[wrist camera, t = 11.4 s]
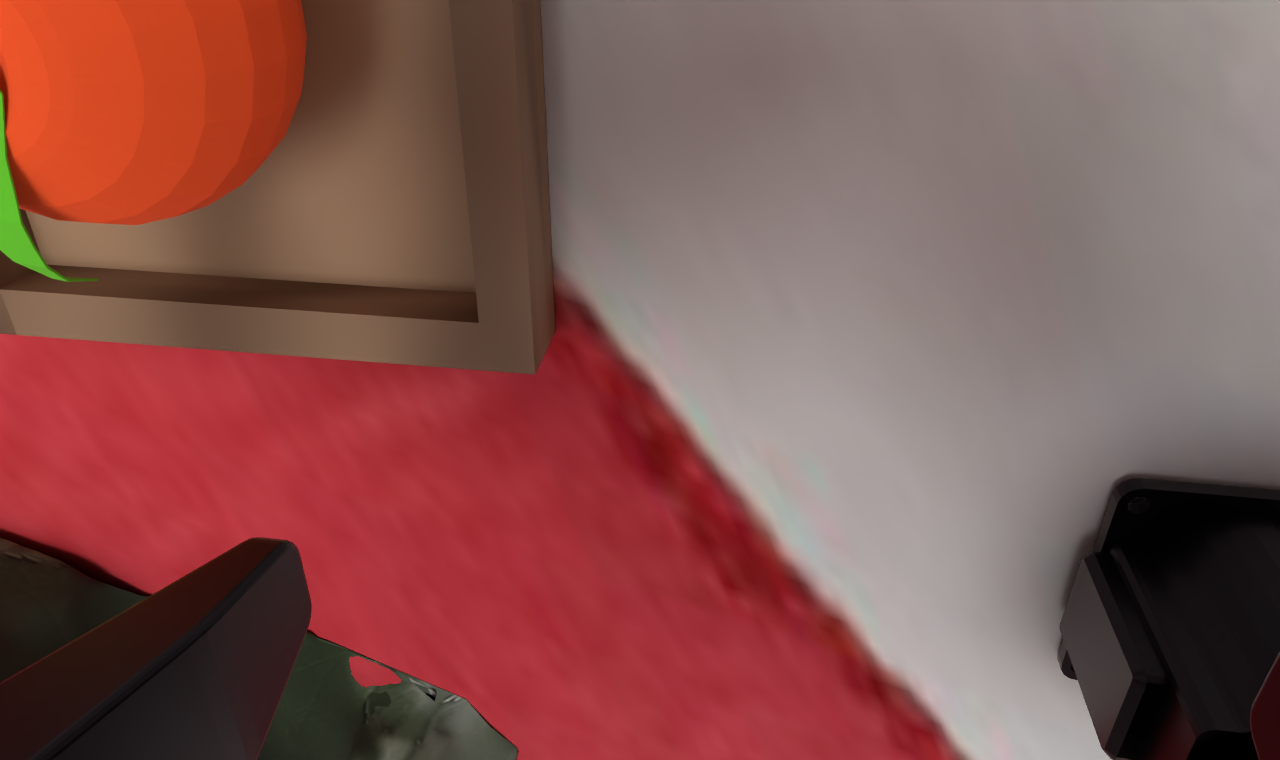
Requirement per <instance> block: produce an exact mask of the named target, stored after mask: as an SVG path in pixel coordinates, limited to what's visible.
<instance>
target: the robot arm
mask: <svg viewBox="0 0 1280 760" xmlns="http://www.w3.org/2000/svg"><path fill="white" fill-rule="evenodd" d="M1136 497H1144V498H1143V500H1142V501H1140V502H1138V503H1133V504H1130V503H1129V502H1130V501H1131V500H1132V499H1134V498H1136ZM310 618H311V599H310V595H309V591H308V586H307V582H306V578H305V574H304V570H303V566H302V561H301V557H300V553H299V551H298V548H297V547H296V546H295V544H294V543H293V542H290V541H288V540H280V539H270V538H260V537H258V538H251V539H248V540H246V541H244V542H242V543H240V544H239V545H237V546H235V547H234V548H232V549H230V550H228V551H227V552H225V553H223V554H222V555H220V556H218V557H216V558H215V559H213V560H211V561H209V562H208V563H206V564H204V565H203V566H201V567H199V568H197V569H196V570H194V571H192V572H191V573H189V574H187V575H185V576H184V577H182V578H180V579H178V580H177V581H175V582H173V583H172V584H170V585H168V586H166V587H165V588H163V589H161V590H160V591H158V592H156V593H154V594H153V595H151V596H149V597H147V598H146V599H144V600H142V601H141V602H139V603H137V604H135V605H134V606H132V607H130V608H129V609H127V610H125V611H123V612H122V613H120V614H118V615H116V616H115V617H113V618H111V619H110V620H108V621H106V622H104V623H103V624H101V625H99V626H98V627H96V628H94V629H92V630H91V631H89V632H87V633H85V634H84V635H82V636H80V637H79V638H77V639H75V640H73V641H72V642H70V643H68V644H67V645H65V646H63V647H61V648H60V649H58V650H56V651H54V652H53V653H51V654H49V655H48V656H46V657H44V658H42V659H41V660H39V661H37V662H36V663H34V664H32V665H30V666H29V667H27V668H25V669H23V670H22V671H20V672H18V673H17V674H15V675H13V676H11V677H10V678H8V679H6V680H4V681H3V682H1V683H0V760H257V758H258V755H259V753H260V751H261V748H262V746H263V743H264V741H265V738H266V735H267V733H268V730H269V728H270V725H271V722H272V720H273V717H274V715H275V712H276V710H277V707H278V704H279V702H280V699H281V697H282V694H283V691H284V689H285V686H286V684H287V681H288V679H289V676H290V673H291V671H292V668H293V666H294V663H295V660H296V658H297V655H298V653H299V650H300V648H301V645H302V642H303V640H304V637H305V635H306V632H307V629H308V626H309V623H310ZM1060 631H1061V634H1062V637H1063V640H1062V643H1061V646H1060V649H1059V652H1058V662H1059V664H1060V667H1061V670H1062V672H1063V674H1064V675H1065V676H1067V677H1069V678H1071V679H1075V680H1078V682H1079V685H1080V688H1081V690H1082V693H1083V696H1084V699H1085V702H1086V705H1087V707H1088V710H1089V713H1090V716H1091V719H1092V722H1093V724H1094V727H1095V730H1096V733H1097V736H1098V739H1099V742H1100V744H1101V747H1102V749H1103V750H1104V752H1105V753H1106V754H1107V755H1108V756H1109V757H1110V758H1111V759H1112V760H1280V490H1269V489H1257V488H1245V487H1233V486H1221V485H1209V484H1197V483H1185V482H1173V481H1161V480H1149V479H1130V480H1127V481H1125V482H1122V483H1121V484H1120V485H1118V486H1117V487H1116V488H1115V490H1114V491H1113V493H1112V495H1111V498H1110V501H1109V504H1108V507H1107V510H1106V513H1105V516H1104V519H1103V522H1102V525H1101V528H1100V531H1099V534H1098V537H1097V539H1096V542H1095V545H1094V548H1093V551H1090V552H1089V553H1088V554H1087V555H1085V556H1084V557H1083V558H1082V560H1081V563H1080V566H1079V569H1078V572H1077V575H1076V578H1075V581H1074V584H1073V587H1072V590H1071V593H1070V596H1069V599H1068V602H1067V605H1066V608H1065V611H1064V614H1063V617H1062V620H1061V623H1060Z"/></svg>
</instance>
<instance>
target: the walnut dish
mask: <svg viewBox="0 0 1280 760" xmlns="http://www.w3.org/2000/svg"><path fill="white" fill-rule="evenodd" d="M301 3H302V9H303V15H304V21H305V27H306V34H307V43H306V55H305V67H304V79H303V85H302V91H301V96H300V99H299V101H298V104H297V107H296V109H295V112H294V115H293V117H292V120H291V123H290V125H289V128H288V131H287V133H286V136H285V137H284V138H283V139H282V141H281V142H280V143H279V144H278V145H277V147H276V148H275V149H274V150H273V152H272V153H271V154H270V155H269V157H268V158H267V159H266V160H265V161H264V163H263V164H262V165H261V166H260V167H259V168H258V169H257V170H256V171H255V172H254V173H253V174H252V175H251V176H250V177H249V178H248V179H247V180H246V181H245V182H244V183H243V184H242V185H241V186H239V187H238V188H236V189H235V190H233V191H231V192H230V193H228V194H226V195H225V196H223V197H221V198H220V199H218V200H216V201H215V202H213V203H211V204H210V205H208V206H206V207H203V208H200V209H197V210H194V211H191V212H188V213H185V214H182V215H180V216H177V217H172V218H167V219H163V220H158V221H154V222H149V223H145V224H140V225H122V224H102V223H87V222H73V221H59V220H55V219H52V218H49V217H45V216H42V215H39V214H36V213H33V212H30V211H27V210H23V209H20V213H21V217H22V222H23V224H24V226H25V228H26V230H27V232H28V233H29V235H30V237H31V239H32V241H33V243H34V245H35V247H36V248H37V250H38V251H39V253H40V254H41V256H42V258H43V259H44V261H45V262H46V264H47V265H48V266H49V267H50V268H52V269H53V270H55V271H57V272H58V273H60V274H61V275H63V276H64V277H76V278H95V279H98V281H81V282H66V281H62V280H57V279H52V278H50V277H48V276H45V275H43V274H41V273H38V272H36V271H34V270H32V269H29V268H27V267H25V266H23V265H20V264H18V263H16V262H14V261H12V260H11V259H10V258H9V257H8V256H6V255H5V254H4V253H3V252H2V251H1V250H0V334H13V335H27V336H40V337H53V338H66V339H79V340H92V341H105V342H118V343H131V344H144V345H157V346H170V347H184V348H197V349H210V350H223V351H236V352H249V353H262V354H275V355H288V356H301V357H314V358H327V359H340V360H354V361H367V362H380V363H393V364H406V365H419V366H432V367H445V368H458V369H471V370H484V371H497V372H511V373H524V374H535V373H536V371H537V369H538V367H539V365H540V363H541V361H542V359H543V357H544V355H545V353H546V350H547V348H548V346H549V344H550V342H551V340H552V338H553V336H554V334H555V313H554V291H553V269H552V247H551V226H550V204H549V182H548V160H547V139H546V117H545V95H544V73H543V52H542V30H541V8H540V0H301Z"/></svg>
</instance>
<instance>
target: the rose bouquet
mask: <svg viewBox="0 0 1280 760" xmlns="http://www.w3.org/2000/svg"><path fill="white" fill-rule="evenodd" d="M146 598H147V596H140V595H137V594H134V593H131V592H129V591H126V590H123V589H120V588H117V587H114V586H111V585H108V584H105V583H102V582H100V581H97V580H95V579H92V578H90V577H88V576H86V575H84V574H82V573H81V572H79V571H78V570H76V569H75V568H73V567H71V566H69V565H67V564H65V563H64V562H62V561H60V560H58V559H55V558H52V557H50V556H47V555H45V554H42V553H40V552H38V551H35V550H32V549H29V548H27V547H24V546H21V545H19V544H16V543H14V542H11V541H9V540H7V539H3V538H0V683H1V682H3V681H4V680H6V679H8V678H10V677H11V676H13V675H15V674H17V673H18V672H20V671H22V670H23V669H25V668H27V667H29V666H30V665H32V664H34V663H36V662H37V661H39V660H41V659H42V658H44V657H46V656H48V655H49V654H51V653H53V652H54V651H56V650H58V649H60V648H61V647H63V646H65V645H67V644H68V643H70V642H72V641H73V640H75V639H77V638H79V637H80V636H82V635H84V634H85V633H87V632H89V631H91V630H92V629H94V628H96V627H98V626H99V625H101V624H103V623H104V622H106V621H108V620H110V619H111V618H113V617H115V616H116V615H118V614H120V613H122V612H123V611H125V610H127V609H129V608H130V607H132V606H134V605H135V604H137V603H139V602H141V601H142V600H144V599H146ZM350 656H351V657H354V656H360V657H362V658H365V659H367V660H369V661H372V662H375V663H377V664H379V665H381V666H383V667H386V668H388V669H390V670H392V671H393V672H394V673H395V674H396V675H397V676H399V677H400V678H401V679H402V680H401V683H399V684H388V685H383V686H369V687H367V688H366V687H362V686H361V685H360V684H359V683H358V682H357V681H356V680H355V679H354V677H353V676H352V675H351V670H350V663H349V657H350ZM517 755H518V753H517V747H515V746H514V745H513V744H512V743H510V742H509V741H508V740H507V739H505V738H504V737H503V736H501V735H500V734H499V733H498V732H496V731H495V730H494V729H493V728H491V727H490V726H489V725H488V724H487V723H486V722H485V720H484V719H483V718H482V717H481V716H480V715H479V714H478V712H477V711H476V710H475V709H474V708H473V707H472V706H471V705H470V703H469V702H468V701H467V700H466V699H464V698H462V697H459V696H457V695H455V694H452V693H450V692H448V691H445V690H443V689H440V688H438V687H436V686H433V685H431V684H429V683H426V682H424V681H422V680H419V679H417V678H415V677H412V676H410V675H408V674H405V673H403V672H400V671H398V670H396V669H393V668H391V667H389V666H386V665H384V664H382V663H379V662H377V661H375V660H372V659H370V658H368V657H365V656H363V655H361V654H358V653H356V652H354V651H351V650H349V649H347V648H344V647H342V646H339V645H337V644H334V643H332V642H329V641H327V640H324V639H321V638H318V637H316V636H315V635H313V634H312V633H310V632H306V635H305V637H304V640H303V642H302V645H301V648H300V650H299V653H298V655H297V658H296V660H295V663H294V666H293V668H292V671H291V673H290V676H289V679H288V681H287V684H286V686H285V689H284V691H283V694H282V697H281V699H280V702H279V704H278V707H277V710H276V712H275V715H274V717H273V720H272V722H271V725H270V728H269V730H268V733H267V735H266V738H265V741H264V743H263V746H262V748H261V751H260V753H259V755H258V758H257V760H516V758H517Z"/></svg>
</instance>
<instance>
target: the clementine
mask: <svg viewBox="0 0 1280 760" xmlns="http://www.w3.org/2000/svg"><path fill="white" fill-rule="evenodd" d="M306 43H307V34H306V27H305V21H304V15H303V9H302V3H301V0H0V250H1V251H2V252H3V253H4V254H5V255H6V256H8V257H9V258H10V259H11V260H12V261H14V262H16V263H18V264H20V265H23V266H25V267H27V268H29V269H32V270H34V271H36V272H38V273H41V274H43V275H45V276H48V277H50V278H52V279H57V280H62V281H66V282H81V281H98V279H95V278H76V277H64V276H63V275H61V274H60V273H58V272H57V271H55V270H53V269H52V268H50V267H49V266H48V265H47V264H46V262H45V261H44V259H43V258H42V256H41V254H40V253H39V251H38V250H37V248H36V247H35V245H34V243H33V241H32V239H31V237H30V235H29V233H28V232H27V230H26V228H25V226H24V224H23V222H22V217H21V213H20V209H23V210H27V211H30V212H33V213H36V214H39V215H42V216H45V217H49V218H52V219H55V220H59V221H73V222H87V223H102V224H122V225H140V224H145V223H149V222H154V221H158V220H163V219H167V218H172V217H177V216H180V215H182V214H185V213H188V212H191V211H194V210H197V209H200V208H203V207H206V206H208V205H210V204H211V203H213V202H215V201H216V200H218V199H220V198H221V197H223V196H225V195H226V194H228V193H230V192H231V191H233V190H235V189H236V188H238V187H239V186H241V185H242V184H243V183H244V182H245V181H246V180H247V179H248V178H249V177H250V176H251V175H252V174H253V173H254V172H255V171H256V170H257V169H258V168H259V167H260V166H261V165H262V164H263V163H264V161H265V160H266V159H267V158H268V157H269V155H270V154H271V153H272V152H273V150H274V149H275V148H276V147H277V145H278V144H279V143H280V142H281V141H282V139H283V138H284V137H285V136H286V133H287V131H288V128H289V125H290V123H291V120H292V117H293V115H294V112H295V109H296V107H297V104H298V101H299V99H300V96H301V91H302V85H303V79H304V67H305V55H306Z"/></svg>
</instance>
